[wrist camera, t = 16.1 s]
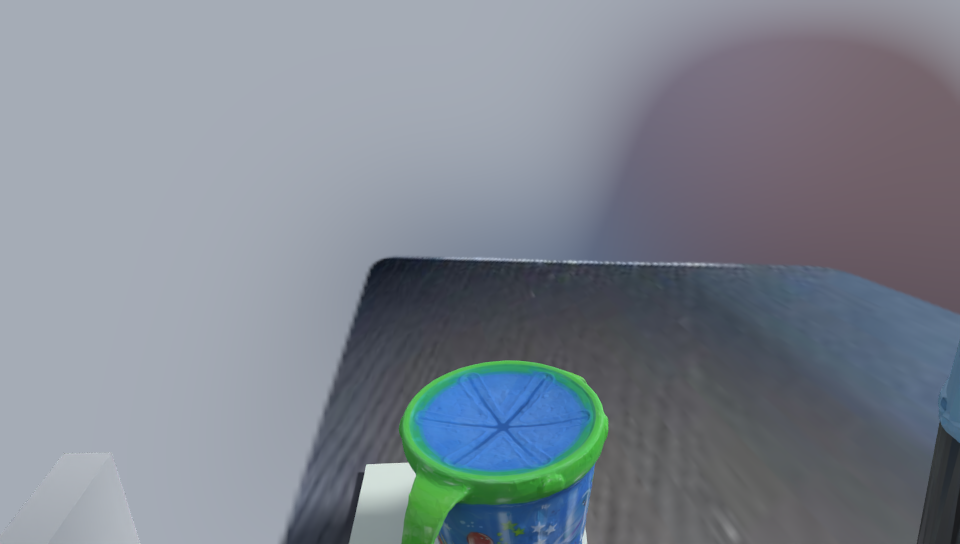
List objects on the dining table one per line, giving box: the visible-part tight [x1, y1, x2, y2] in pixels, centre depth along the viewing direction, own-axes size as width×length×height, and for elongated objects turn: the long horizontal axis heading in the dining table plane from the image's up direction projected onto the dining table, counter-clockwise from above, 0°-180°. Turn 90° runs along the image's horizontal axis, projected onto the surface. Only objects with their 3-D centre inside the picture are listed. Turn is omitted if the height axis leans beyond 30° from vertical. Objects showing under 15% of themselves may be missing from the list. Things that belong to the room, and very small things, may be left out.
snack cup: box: [399, 361, 608, 544], centre depth 47 cm, size 16×10×10 cm
